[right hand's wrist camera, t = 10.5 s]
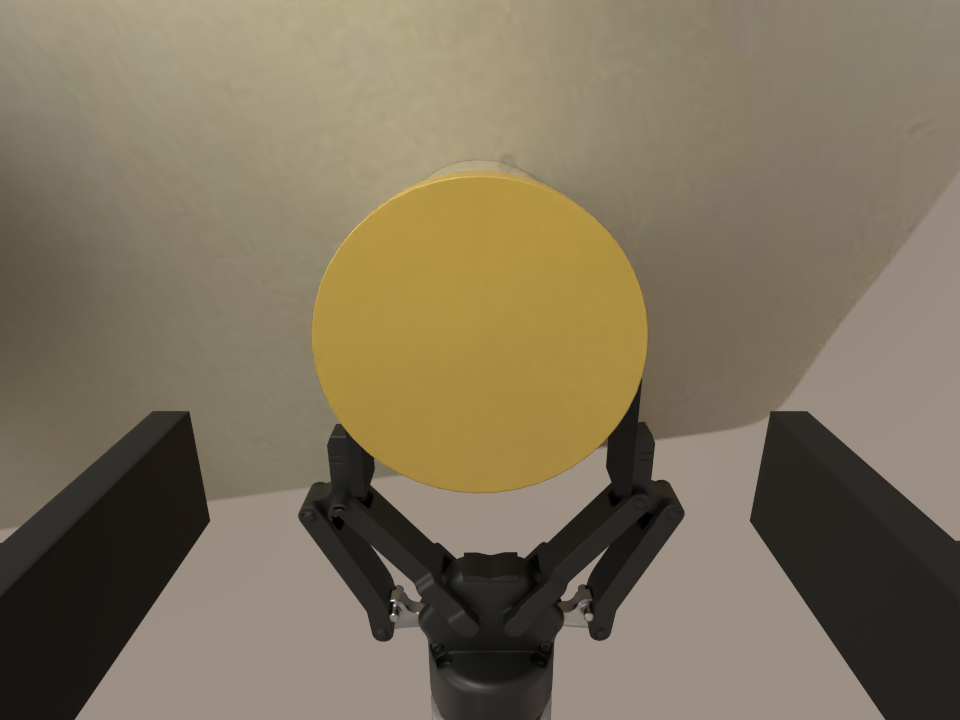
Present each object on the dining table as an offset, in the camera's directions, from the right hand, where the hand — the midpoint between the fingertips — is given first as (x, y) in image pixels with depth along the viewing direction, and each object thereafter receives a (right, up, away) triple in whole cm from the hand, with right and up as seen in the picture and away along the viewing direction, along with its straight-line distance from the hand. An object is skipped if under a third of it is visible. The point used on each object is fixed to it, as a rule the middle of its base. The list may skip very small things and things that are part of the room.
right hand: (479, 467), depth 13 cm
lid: (0, +3, +7) cm, 8 cm away
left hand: (0, +2, +17) cm, 17 cm away
